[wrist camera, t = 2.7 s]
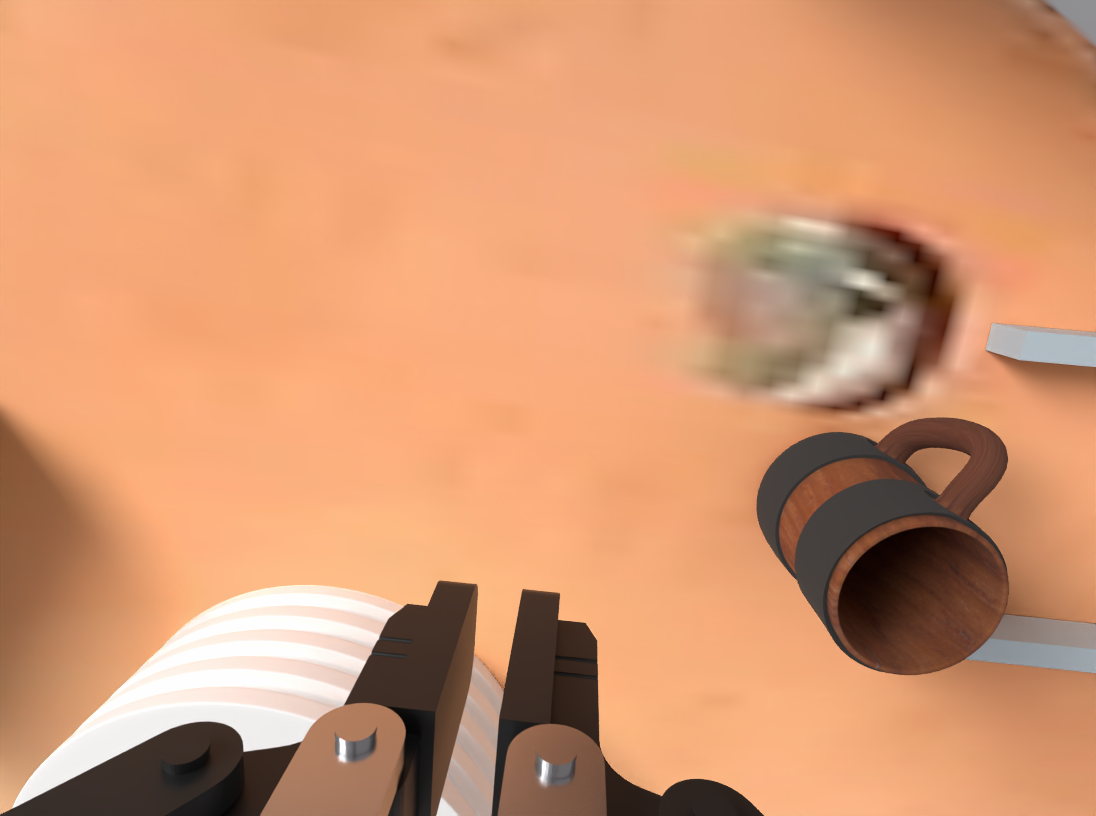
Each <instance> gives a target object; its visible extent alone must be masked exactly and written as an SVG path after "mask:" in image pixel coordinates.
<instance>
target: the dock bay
mask: <svg viewBox="0 0 1096 816" xmlns="http://www.w3.org/2000/svg"><path fill="white" fill-rule="evenodd" d="M986 350H987V351H991V352H994V353H997V354H1001V355H1004V356H1007V357H1011V358H1014V359H1017V360H1024V361H1035V362H1046V363H1057V364H1068V365H1079V366H1090V367H1096V332H1086V331H1075V330H1064V329H1053V328H1042V327H1031V326H1020V325H1008V324H997V323H992V326H991V330H990V334H989V338H988V342H987V346H986ZM966 659H968V660H977V661H987V662H996V663H1005V664H1015V665H1024V666H1034V667H1043V668H1052V669H1062V670H1071V671H1080V672H1090V673H1096V624H1092V623H1083V622H1073V621H1064V620H1054V619H1044V618H1035V617H1025V616H1016V615H1006V614H1004V615H1003V617H1002V619H1001V621H1000V623H999V625H998V627H997V628H996V630H995V632H994V633H993V634H992V635H991V637H990V638H989V639H988V640H987V641H986V642H985V643H984V644H983V645H982V646H981V647H980V648H979V649H978V650H977V651H976V652H974V653H973V654H972V655H970V656H969V657H967V658H966Z"/></svg>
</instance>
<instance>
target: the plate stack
mask: <svg viewBox="0 0 1096 816" xmlns="http://www.w3.org/2000/svg"><path fill="white" fill-rule="evenodd" d="M403 607H404V606H401V605H399V604H397V603H394V602H392V601H389V600H386V599H384V598H380V597H377V596H374V595H371V594H367V593H363V592H359V591H355V590H350V589H345V588H338V587H330V586H318V585H291V586H280V587H272V588H266V589H261V590H257V591H252V592H249V593H245V594H242V595H239V596H236V597H233V598H231V599H228V600H225V601H223V602H221V603H219V604H217V605H215V606H213V607H211V608H209V609H207V610H206V611H204V612H202V613H201V614H199V615H198V616H196V617H195V618H193V619H192V620H191V621H189V622H188V623H187V624H185V625H184V626H183V627H182V628H181V629H180V630H178V631H177V632H176V633H175V634H174V635H173V636H172V637H171V638H170V639H169V640H168V641H167V642H166V643H165V644H164V645H163V646H162V647H161V648H160V649H159V650H158V651H157V652H156V653H155V654H154V655H153V656H152V657H151V658H150V659H149V660H148V661H147V662H146V663H144V664H143V665H142V666H141V667H140V668H139V670H138V671H137V672H136V673H135V674H134V675H133V676H131V677H130V678H129V679H128V680H127V681H126V682H125V683H124V684H123V685H122V686H121V687H120V688H119V689H118V690H117V691H116V692H115V693H114V694H113V695H112V696H111V697H110V698H109V699H108V700H107V701H106V702H105V703H104V704H103V705H102V706H101V707H100V708H99V709H97V710H96V711H95V712H94V713H93V714H92V715H91V716H90V717H89V718H88V719H87V720H86V721H85V722H84V723H83V724H82V725H81V726H80V727H79V728H78V729H77V730H76V731H75V732H74V734H73V735H72V736H70V737H69V738H68V739H67V740H66V741H65V742H64V743H63V744H62V745H61V746H59V747H58V748H57V749H56V750H55V751H54V752H53V753H52V754H51V755H50V756H49V757H48V758H47V759H46V760H45V761H44V762H43V763H42V764H41V765H40V766H39V768H38V769H37V770H36V771H35V772H34V773H33V775H32V776H31V777H30V778H29V780H28V781H27V783H26V784H25V786H24V787H23V789H22V790H21V792H20V794H19V795H18V797H17V799H16V801H15V803H14V805H13V808H14V807H16V806H18V805H20V804H22V803H24V802H26V801H28V800H30V799H32V798H34V797H36V796H38V795H40V794H42V793H44V792H46V791H48V790H50V789H52V788H54V787H56V786H58V785H60V784H62V783H64V782H66V781H68V780H70V779H72V778H74V777H76V776H78V775H80V774H81V773H83V772H85V771H87V770H89V769H91V768H93V767H95V766H97V765H99V764H101V763H103V762H105V761H107V760H109V759H111V758H113V757H115V756H117V755H119V754H121V753H123V752H125V751H127V750H129V749H131V748H133V747H135V746H137V745H139V744H141V743H143V742H145V741H147V740H148V739H150V738H152V737H154V736H156V735H158V734H160V733H162V732H165V731H167V730H169V729H171V728H174V727H177V726H180V725H184V724H188V723H194V722H206V721H210V722H218V723H222V724H226V725H228V726H230V727H232V728H233V729H235V730H236V731H237V732H238V733H239V734H240V736H241V738H242V740H243V750H244V752H245V751H253V750H260V749H267V748H274V747H281V746H286V745H291V744H295V743H298V742H301V741H303V739H304V737H305V735H306V734H307V732H308V730H309V729H310V727H311V726H312V725H313V724H314V723H315V722H316V721H317V720H318V719H319V718H320V717H321V716H323V715H324V714H326V713H328V712H329V711H331V710H334V709H336V708H338V707H341V706H344V704H345V702H346V700H347V698H348V696H349V694H350V692H351V690H352V688H353V686H354V684H355V683H356V681H357V679H358V677H359V675H360V673H361V671H362V669H363V667H364V665H365V663H366V661H367V659H368V657H369V655H371V653H372V649H373V648H374V646H375V644H376V642H377V640H379V636H380V634H381V632H382V630H383V628H384V626H385V624H386V622H387V620H388V618H390V617H391V616H392V615H394V614H395V613H396V612H398V611H399V610H400V609H402V608H403ZM503 694H504V691H503V690H502V688H501V687H500V685H499V684H498V682H497V681H496V679H495V678H494V677H493V675H492V674H491V673H490V672H489V670H488V669H487V668H486V667H485V666H484V664H483V663H482V662H481V661H480V660H479V659H478V658H477V657H476V656H475V655H474V659H473V668H472V676H471V682H470V687H469V691H468V695H467V699H466V703H465V707H464V711H463V715H462V719H461V722H460V726H459V730H458V734H457V738H456V742H455V746H454V749H453V753H452V757H451V761H450V765H449V769H448V773H447V776H446V780H445V784H444V788H443V792H442V796H441V800H440V803H439V807H438V811H437V815H436V816H492V803H493V790H494V777H495V764H496V751H497V738H498V725H499V716H500V710H501V705H502V699H503ZM13 808H12V809H13Z"/></svg>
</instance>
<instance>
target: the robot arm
mask: <svg viewBox="0 0 1096 816" xmlns="http://www.w3.org/2000/svg"><path fill="white" fill-rule="evenodd" d="M477 598H478V586H477V584H468V583H459V582H449V581H439V582H438V583H437V586H436V588H435V590H434V593H433V595H432V597H431V600H430V602H429V604H428V606H422V605H412V604H407V605H405V606H404V607H403V608H402V609H400V610H399V611H398V612H396V613H395V614H394V615H392V616H391V617H390V618H388V620H387V622H386V624H385V626H384V628H383V630H382V632H381V634H380V636H379V640H377V642H376V644H375V646H374V648H373V649H372V653H371V655H369V657H368V659H367V661H366V663H365V665H364V667H363V669H362V671H361V673H360V675H359V677H358V679H357V681H356V683H355V684H354V686H353V688H352V690H351V692H350V694H349V696H348V698H347V700H346V702H345V704H344V706H341V707H338V708H336V709H334V710H331V711H329V712H328V713H326V714H324V715H323V716H321V717H320V718H319V719H318V720H317V721H316V722H315V723H314V724H313V725H312V726H311V727H310V729H309V730H308V732H307V734H306V735H305V737H304V739H303V741H301V742H298V743H295V744H291V745H286V746H281V747H274V748H267V749H260V750H253V751H245V752H244V750H243V740H242V738H241V736H240V734H239V733H238V732H237V731H236V730H235V729H233V728H232V727H230V726H228V725H226V724H222V723H218V722H210V721H206V722H194V723H188V724H184V725H180V726H177V727H174V728H171V729H169V730H167V731H165V732H162V733H160V734H158V735H156V736H154V737H152V738H150V739H148V740H147V741H145V742H143V743H141V744H139V745H137V746H135V747H133V748H131V749H129V750H127V751H125V752H123V753H121V754H119V755H117V756H115V757H113V758H111V759H109V760H107V761H105V762H103V763H101V764H99V765H97V766H95V767H93V768H91V769H89V770H87V771H85V772H83V773H81V774H80V775H78V776H76V777H74V778H72V779H70V780H68V781H66V782H64V783H62V784H60V785H58V786H56V787H54V788H52V789H50V790H48V791H46V792H44V793H42V794H40V795H38V796H36V797H34V798H32V799H30V800H28V801H26V802H24V803H22V804H20V805H18V806H16V807H14V808H13V809H11V810H9V811H7V812H5V813H3V814H1V815H0V816H436V815H437V811H438V807H439V803H440V800H441V796H442V792H443V788H444V784H445V780H446V776H447V773H448V769H449V765H450V761H451V757H452V753H453V749H454V746H455V742H456V738H457V734H458V730H459V726H460V722H461V719H462V715H463V711H464V707H465V703H466V699H467V695H468V691H469V687H470V682H471V676H472V668H473V659H474V645H475V630H476V614H477ZM559 600H560V593H554V592H544V591H535V590H525V589H523V590H522V595H521V600H520V606H519V611H518V617H517V622H516V628H515V633H514V639H513V644H512V650H511V655H510V661H509V666H508V672H507V677H506V683H505V688H504V694H503V699H502V705H501V710H500V716H499V725H498V738H497V751H496V764H495V777H494V790H493V803H492V816H764V815H763V814H762V813H761V812H760V811H759V810H758V809H757V808H756V807H755V806H754V805H753V804H752V803H751V802H750V801H748V800H747V799H746V798H745V797H744V796H743V795H741V794H740V793H738V792H737V791H735V790H734V789H732V788H730V787H728V786H726V785H723V784H721V783H718V782H714V781H710V780H704V779H689V780H684V781H681V782H678V783H676V784H674V785H672V786H671V787H670V788H668V789H667V790H666V791H665V793H664V794H663V796H660V795H658V794H655V793H652V792H650V791H647V790H645V789H642V788H640V787H638V786H636V785H634V784H632V783H630V782H628V781H627V780H625V779H624V778H622V777H621V776H620V775H619V774H617V773H616V772H615V771H614V770H613V769H612V768H611V767H610V765H609V764H608V763H607V761H606V760H605V758H604V756H603V754H602V751H601V748H600V742H599V708H598V664H597V640H596V638H595V637H594V635H593V634H592V632H591V631H590V629H589V628H588V626H587V625H586V623H581V622H572V621H562V620H558V613H559Z"/></svg>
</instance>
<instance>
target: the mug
mask: <svg viewBox="0 0 1096 816" xmlns="http://www.w3.org/2000/svg"><path fill="white" fill-rule="evenodd" d="M925 448H946V449H952V450H957V451H961V452H964V453H966V454H968V455H970V456H971V458H970V460H969V462H968V463H967V464H966V466H965V467H964V468H963V469H962V470H961V472H960V473H959V474H958V475H957V476H956V477H955V478H954V479H953V480H952V482H951V483H950V484H949V485H948V486H947V487H946V489H945V490H944V491H943V493H942V494H941V495H938V494H937V493H935V492H934V491H932V490H930V489H928V488H927V487H926V485H925V484H924V482H923V481H922V480H921V479H920V477H919V476H918V475H917V474H916V473H915V472H914V470H913V469H912V468H911V467H909V466H908V465H907V464H906V463H905V462H906V460H907V459H908V458H909V457H910V456H911V455H912V454H913V453H914V452H916V451H918V450H921V449H925ZM1007 462H1008V456H1007V450H1006V447H1005V445H1004V443H1003V442H1002V440H1001V439H1000V438H999V437H998V436H997V435H996V434H995V433H994V432H993V431H991V430H990V429H989V428H986V427H984V426H982V425H980V424H977V423H974V422H971V421H967V420H962V419H956V418H925V419H918V420H914V421H910V422H908V423H905V424H903V425H901V426H899V427H898V428H896V429H894V430H893V431H891V432H890V433H889V434H888V435H886V436H885V437H884V438H883V439H882V440H881V441H880V442H879V443H876V442H874V441H872V440H871V439H868V438H866V437H863V436H860V435H856V434H852V433H843V432H830V433H824V434H819V435H815V436H812V437H809V438H806V439H804V440H801V441H799V442H798V443H796V444H794V445H792V446H791V447H790V448H788V449H787V450H785V451H784V452H783V453H782V454H781V455H780V456H779V457H778V458H777V459H776V460H775V461H774V462H773V463H772V465H771V466H770V467H769V469H768V470H767V472H766V473H765V475H764V477H763V480H762V482H761V485H760V488H759V491H758V496H757V516H758V521H759V524H760V527H761V530H762V532H763V534H764V536H765V538H766V540H767V542H768V544H769V545H770V547H771V548H772V550H773V551H774V553H775V554H776V556H777V557H778V559H779V560H780V561H781V562H782V564H783V565H784V566H785V567H786V569H787V570H788V571H789V572H790V574H791V575H792V576H793V577H794V578H795V579H796V580H797V581H798V584H799V587H800V589H801V591H802V593H803V595H804V596H805V598H806V599H807V601H808V602H809V604H810V605H811V606H812V608H813V609H814V611H815V612H816V614H817V615H818V616H819V618H820V619H821V621H822V622H823V624H824V625H825V627H826V628H827V630H828V632H829V633H830V635H831V636H832V638H833V640H834V641H835V643H836V644H837V645H838V646H839V648H840V649H841V650H842V651H843V652H844V653H845V654H847V655H848V656H849V657H850V658H852V659H853V660H855V661H856V662H858V663H860V664H862V665H864V666H866V667H868V668H871V669H874V670H877V671H881V672H886V673H892V674H899V675H919V674H927V673H932V672H936V671H940V670H942V669H945V668H948V667H951V666H953V665H955V664H957V663H959V662H961V661H962V660H964V659H966V658H967V657H969V656H970V655H972V654H973V653H974V652H976V651H977V650H978V649H979V648H980V647H981V646H982V645H983V644H984V643H985V642H986V641H987V640H988V639H989V638H990V637H991V635H992V634H993V633H994V632H995V630H996V628H997V627H998V625H999V623H1000V621H1001V619H1002V617H1003V615H1004V612H1005V609H1006V606H1007V602H1008V595H1009V582H1008V574H1007V568H1006V564H1005V561H1004V558H1003V556H1002V554H1001V552H1000V551H999V549H998V547H997V546H996V544H995V543H994V542H993V540H992V539H991V538H990V537H989V536H988V535H987V534H986V533H985V532H983V531H982V530H981V529H980V528H979V527H978V526H977V525H976V524H975V523H973V522H972V521H971V520H969V517H970V515H971V513H972V512H973V510H974V509H975V508H976V507H977V506H978V504H979V503H980V502H981V501H982V500H983V499H984V498H985V497H986V496H987V495H988V494H989V493H990V492H991V491H992V490H993V489H994V488H995V486H996V485H997V484H998V482H999V481H1000V480H1001V478H1002V476H1003V474H1004V472H1005V470H1006V467H1007Z"/></svg>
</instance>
